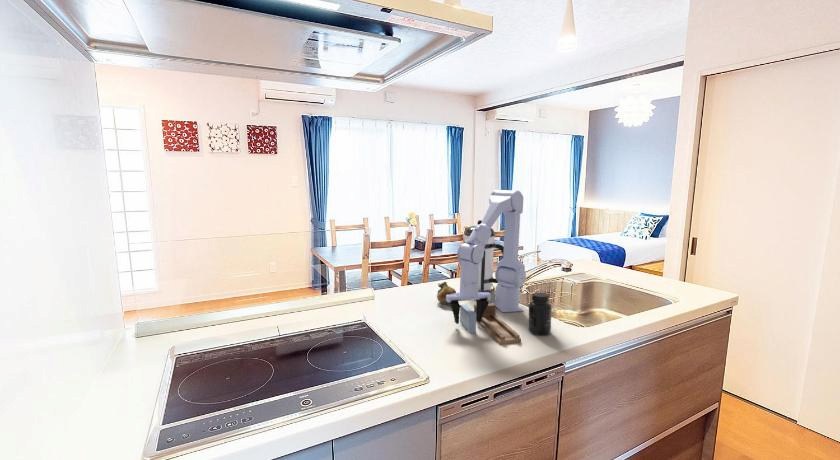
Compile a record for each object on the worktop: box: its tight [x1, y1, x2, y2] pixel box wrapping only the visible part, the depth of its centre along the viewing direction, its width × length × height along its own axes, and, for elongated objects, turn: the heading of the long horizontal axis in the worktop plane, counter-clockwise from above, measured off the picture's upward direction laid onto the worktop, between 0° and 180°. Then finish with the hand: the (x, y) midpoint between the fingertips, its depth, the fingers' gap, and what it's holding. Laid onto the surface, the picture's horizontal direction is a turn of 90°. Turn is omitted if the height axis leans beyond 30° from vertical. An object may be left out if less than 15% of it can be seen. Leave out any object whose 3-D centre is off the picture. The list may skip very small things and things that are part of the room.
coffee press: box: [462, 219, 504, 292], centre depth 160 cm, size 17×16×30 cm
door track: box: [473, 302, 522, 345], centre depth 122 cm, size 20×7×5 cm, turn 14°
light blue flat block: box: [459, 303, 477, 333], centre depth 124 cm, size 9×2×6 cm, turn 14°
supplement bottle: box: [527, 292, 553, 336], centre depth 120 cm, size 7×7×12 cm
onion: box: [436, 281, 457, 305], centre depth 146 cm, size 8×8×8 cm
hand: (467, 321), depth 124 cm, fingers open, 7 cm apart
